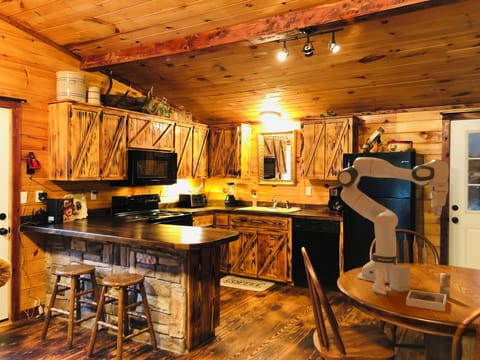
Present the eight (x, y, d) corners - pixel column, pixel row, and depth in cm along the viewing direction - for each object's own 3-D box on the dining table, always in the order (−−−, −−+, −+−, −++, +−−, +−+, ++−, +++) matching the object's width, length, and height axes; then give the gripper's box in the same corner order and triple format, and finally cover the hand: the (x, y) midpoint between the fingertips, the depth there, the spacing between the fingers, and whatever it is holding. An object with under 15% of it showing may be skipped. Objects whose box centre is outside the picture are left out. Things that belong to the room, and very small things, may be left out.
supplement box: (410, 292, 200) (410, 267, 199) (398, 293, 197) (398, 268, 197) (400, 287, 207) (401, 264, 206) (388, 289, 205) (389, 265, 204)
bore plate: (409, 304, 178) (409, 299, 177) (412, 297, 189) (412, 292, 189) (441, 310, 171) (441, 304, 171) (442, 301, 182) (443, 296, 182)
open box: (406, 306, 177) (406, 298, 177) (410, 297, 191) (410, 289, 190) (444, 313, 169) (444, 304, 169) (446, 303, 183) (446, 294, 183)
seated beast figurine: (385, 296, 192) (385, 272, 192) (368, 293, 198) (368, 269, 197) (392, 292, 199) (392, 269, 199) (375, 288, 205) (375, 266, 204)
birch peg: (439, 299, 188) (439, 274, 188) (440, 296, 192) (440, 272, 192) (449, 300, 186) (450, 276, 186) (450, 298, 190) (450, 274, 190)
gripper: (428, 191, 219) (427, 215, 217) (435, 187, 199) (434, 213, 198) (441, 192, 217) (440, 216, 215) (449, 187, 198) (447, 215, 196)
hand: (437, 215), depth 206 cm, fingers open, 8 cm apart
